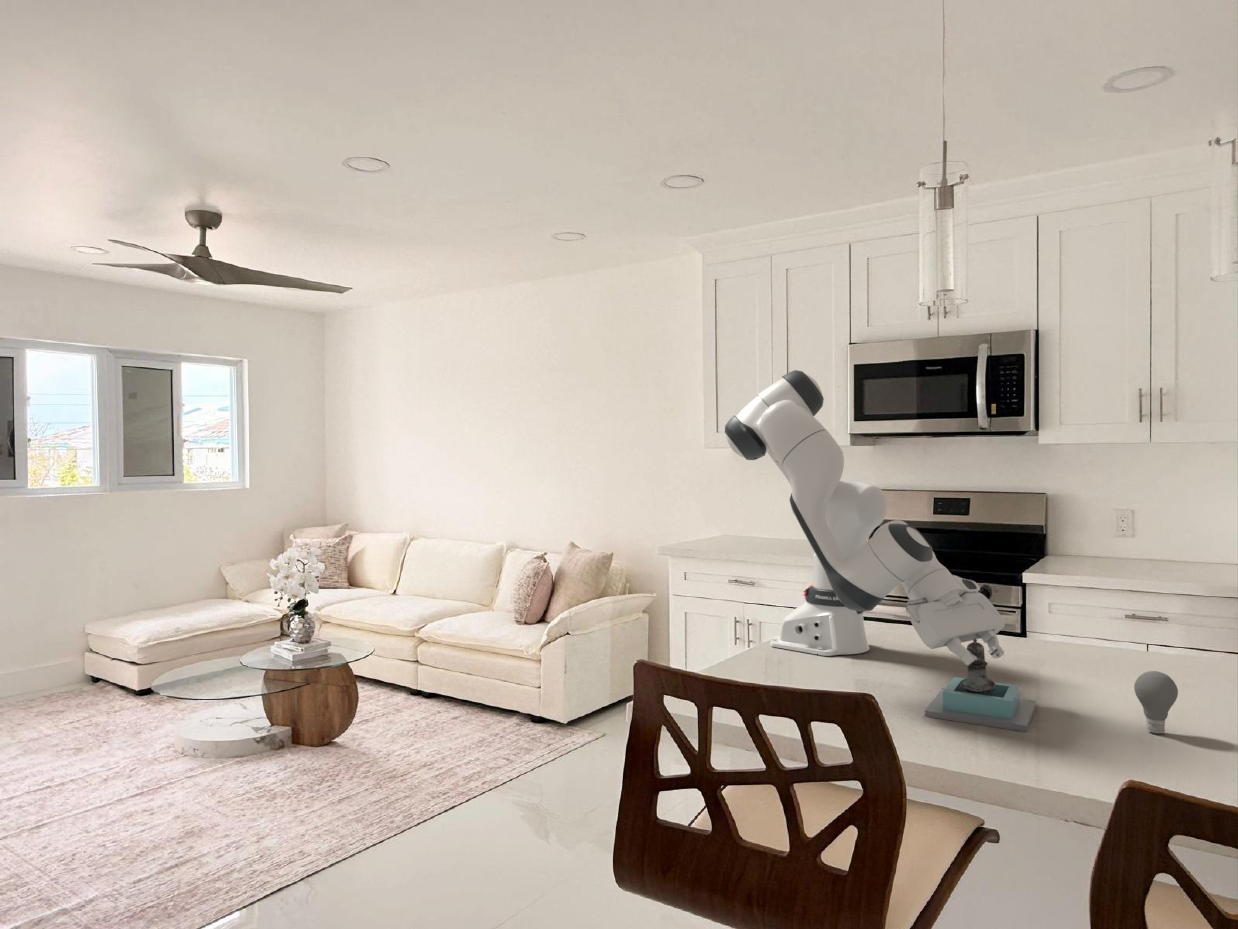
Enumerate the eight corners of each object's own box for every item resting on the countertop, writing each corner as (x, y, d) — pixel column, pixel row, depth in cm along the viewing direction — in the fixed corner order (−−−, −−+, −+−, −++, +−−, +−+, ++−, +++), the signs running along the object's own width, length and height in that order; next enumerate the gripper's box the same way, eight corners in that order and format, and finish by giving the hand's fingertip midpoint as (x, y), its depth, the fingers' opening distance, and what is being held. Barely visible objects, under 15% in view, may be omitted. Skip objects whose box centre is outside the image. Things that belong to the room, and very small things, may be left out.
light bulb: (1168, 741, 134) (1168, 678, 134) (1127, 731, 139) (1127, 670, 138) (1184, 734, 137) (1184, 672, 137) (1143, 724, 142) (1144, 665, 142)
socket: (924, 716, 147) (924, 693, 147) (942, 693, 161) (942, 672, 161) (1026, 731, 139) (1026, 707, 139) (1036, 706, 152) (1036, 684, 152)
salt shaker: (955, 705, 150) (950, 640, 148) (969, 694, 154) (965, 630, 152) (988, 713, 146) (984, 646, 144) (1002, 701, 150) (998, 635, 148)
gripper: (912, 591, 149) (961, 657, 141) (980, 580, 160) (1030, 641, 152) (891, 612, 153) (938, 678, 145) (959, 601, 164) (1007, 661, 156)
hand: (986, 659), depth 149 cm, fingers open, 7 cm apart
